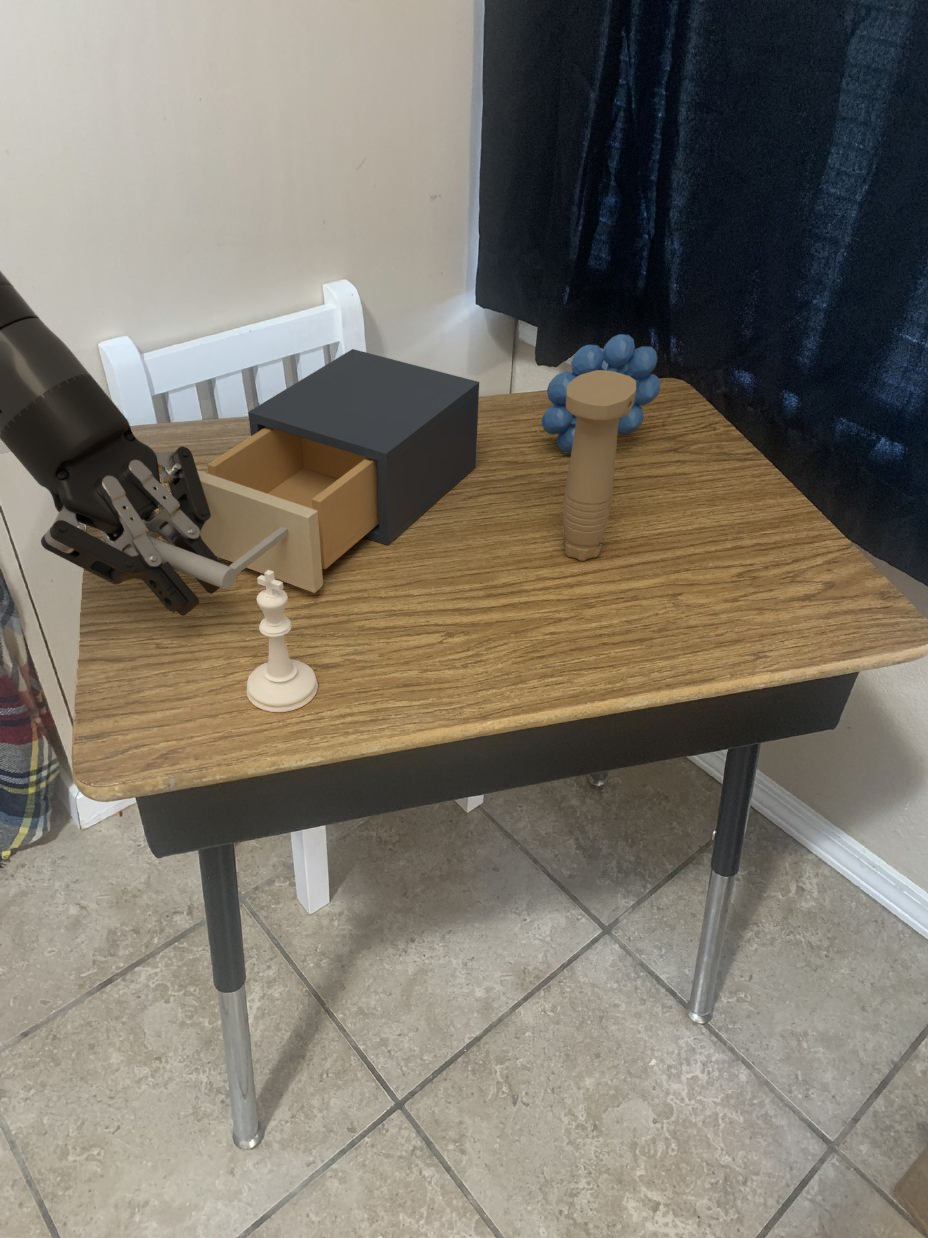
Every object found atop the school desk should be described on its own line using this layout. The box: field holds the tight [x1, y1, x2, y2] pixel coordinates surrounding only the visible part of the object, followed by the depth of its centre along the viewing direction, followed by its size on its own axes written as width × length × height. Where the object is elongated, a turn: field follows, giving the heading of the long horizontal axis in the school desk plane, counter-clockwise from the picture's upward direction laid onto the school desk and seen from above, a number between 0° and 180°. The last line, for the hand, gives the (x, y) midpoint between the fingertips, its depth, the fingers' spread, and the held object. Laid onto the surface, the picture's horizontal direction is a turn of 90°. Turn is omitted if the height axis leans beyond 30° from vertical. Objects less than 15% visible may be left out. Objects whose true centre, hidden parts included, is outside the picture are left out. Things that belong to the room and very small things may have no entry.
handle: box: [562, 370, 636, 562], centre depth 79 cm, size 5×6×15 cm
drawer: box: [147, 427, 379, 594], centre depth 78 cm, size 22×13×7 cm, turn 151°
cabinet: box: [247, 348, 480, 546], centre depth 88 cm, size 16×14×9 cm
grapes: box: [541, 333, 661, 454], centre depth 94 cm, size 12×7×12 cm, turn 103°
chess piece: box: [246, 570, 319, 713], centre depth 66 cm, size 5×5×10 cm
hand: (205, 597), depth 71 cm, fingers closed
